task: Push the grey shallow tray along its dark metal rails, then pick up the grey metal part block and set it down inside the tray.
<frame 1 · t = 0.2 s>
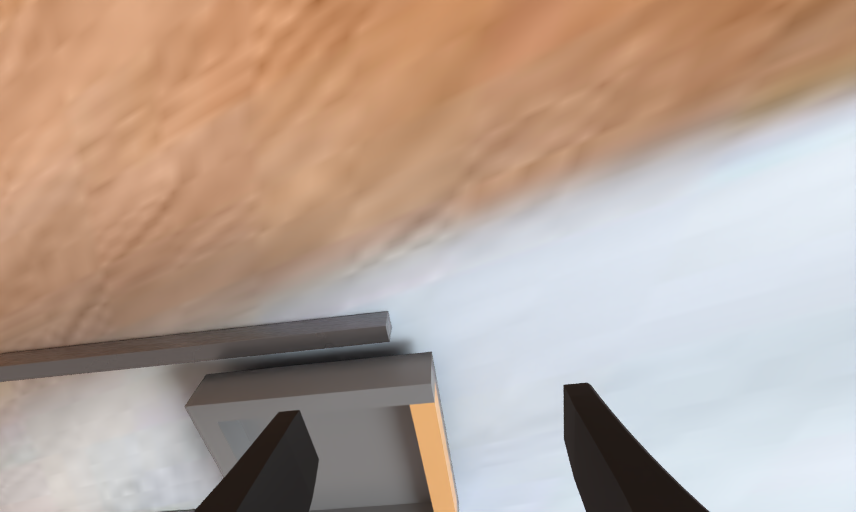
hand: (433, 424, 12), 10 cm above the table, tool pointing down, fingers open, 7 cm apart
track: (237, 435, 26), on the table
grey shallow tray: (341, 450, 24), point 2 cm above the table, slide at 0.0 cm
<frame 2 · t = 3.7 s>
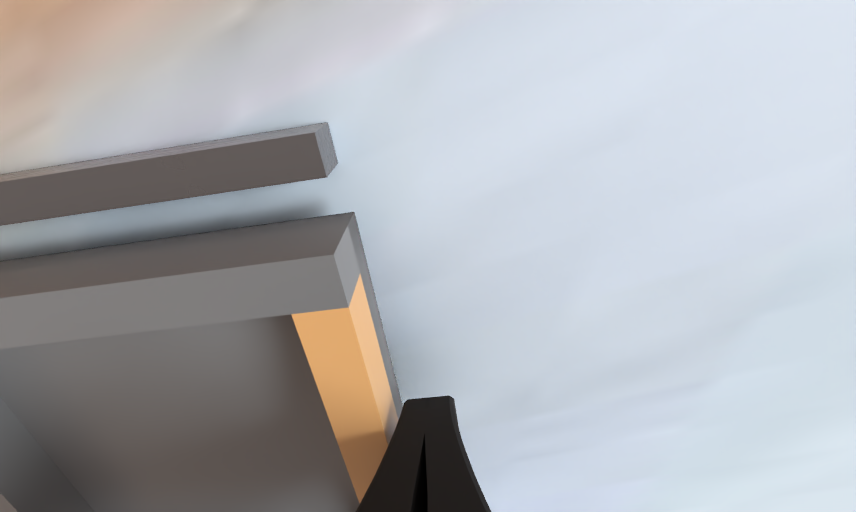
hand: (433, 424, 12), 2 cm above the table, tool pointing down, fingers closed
track: (78, 405, 15), on the table
grey shallow tray: (201, 432, 13), point 2 cm above the table, slide at 1.6 cm, touching gripper
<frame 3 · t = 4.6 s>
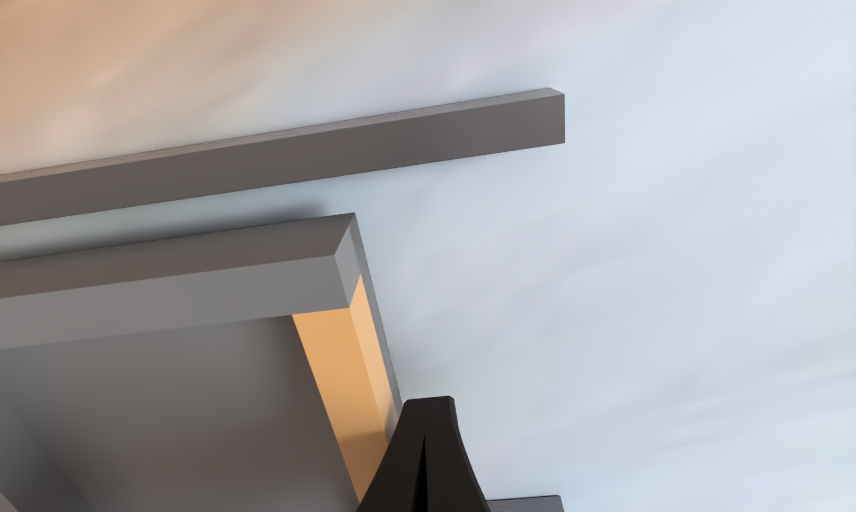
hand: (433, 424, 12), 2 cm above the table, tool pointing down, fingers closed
track: (222, 390, 14), on the table
grey shallow tray: (202, 432, 13), point 2 cm above the table, slide at 6.8 cm, touching gripper
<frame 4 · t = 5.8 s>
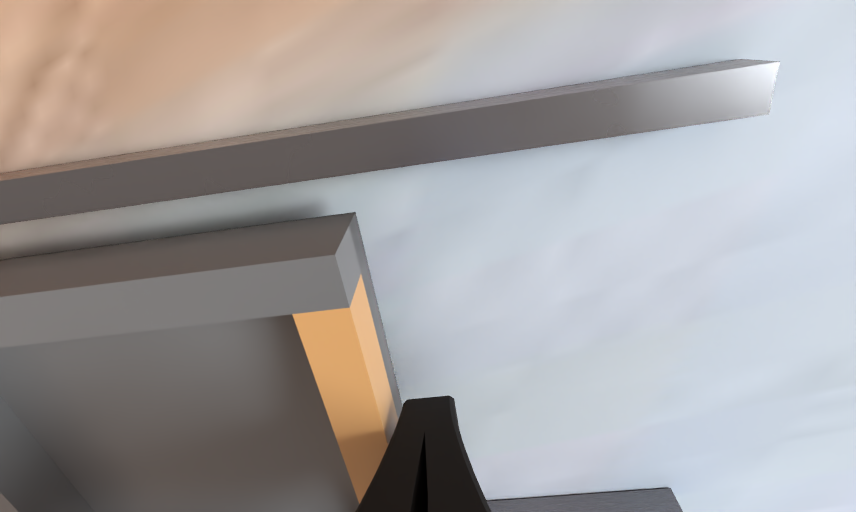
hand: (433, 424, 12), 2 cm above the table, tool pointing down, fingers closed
track: (342, 377, 14), on the table
grey shallow tray: (201, 431, 13), point 2 cm above the table, slide at 11.0 cm, touching gripper
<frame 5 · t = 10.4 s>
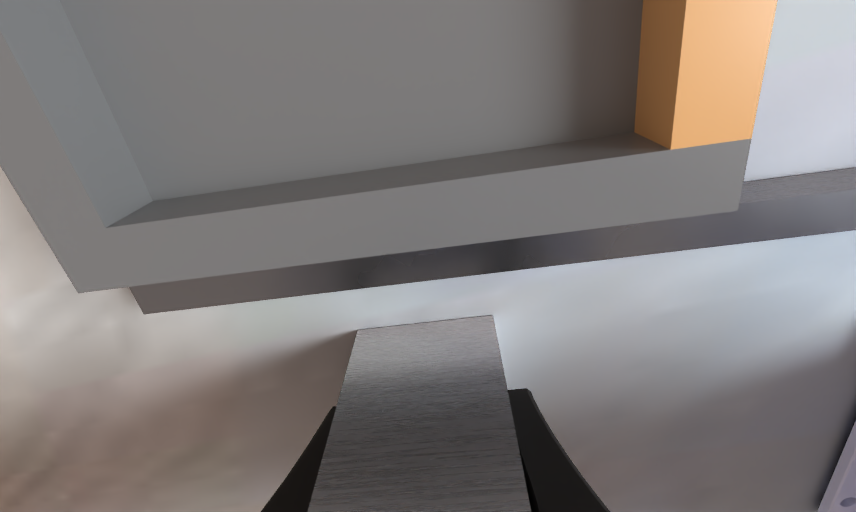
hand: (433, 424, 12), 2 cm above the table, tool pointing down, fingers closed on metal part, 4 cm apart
metal part: (434, 374, 13), on the table, touching gripper
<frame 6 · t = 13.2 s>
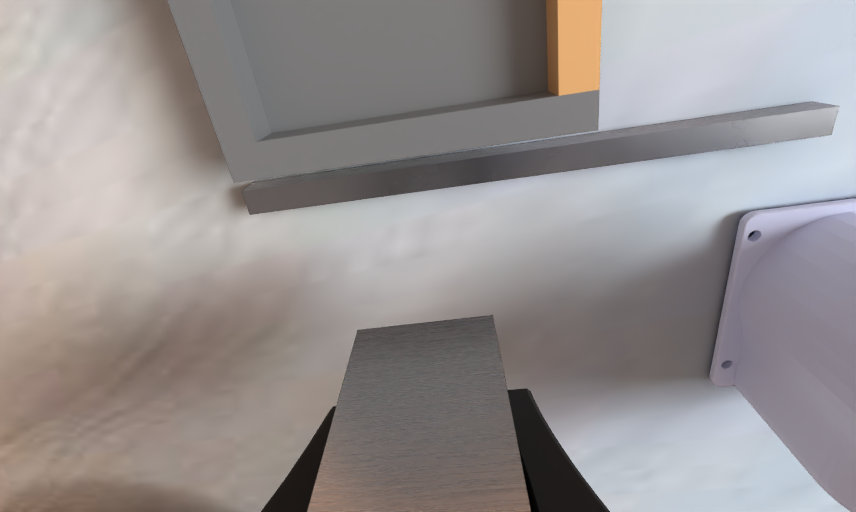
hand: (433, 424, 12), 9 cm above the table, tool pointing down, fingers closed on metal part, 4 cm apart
metal part: (433, 374, 13), point 7 cm above the table, touching gripper
when the fingers open (5 cm above the table, at t = 16.1 s): metal part stays where it is, resting on grey shallow tray.
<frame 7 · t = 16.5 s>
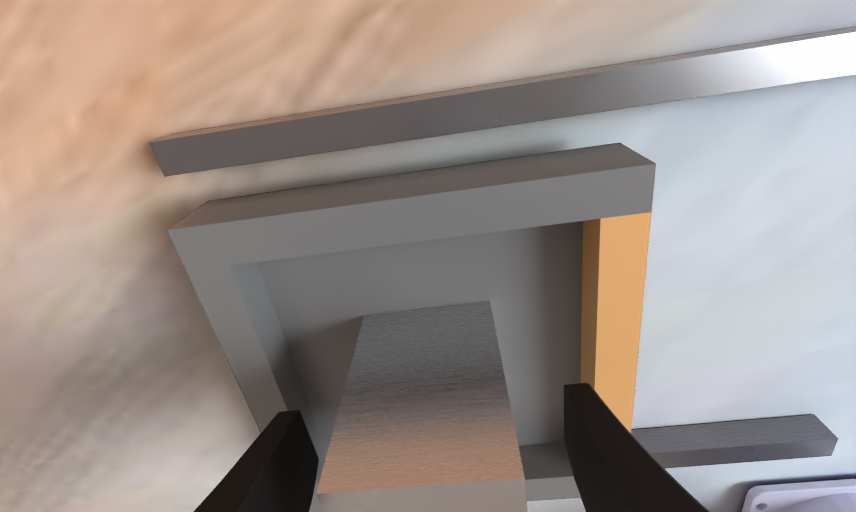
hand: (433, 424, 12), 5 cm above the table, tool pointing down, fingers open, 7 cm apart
track: (542, 306, 16), on the table
grey shallow tray: (434, 348, 14), point 2 cm above the table, slide at 11.0 cm, touching metal part
metal part: (435, 357, 14), point 2 cm above the table, touching grey shallow tray
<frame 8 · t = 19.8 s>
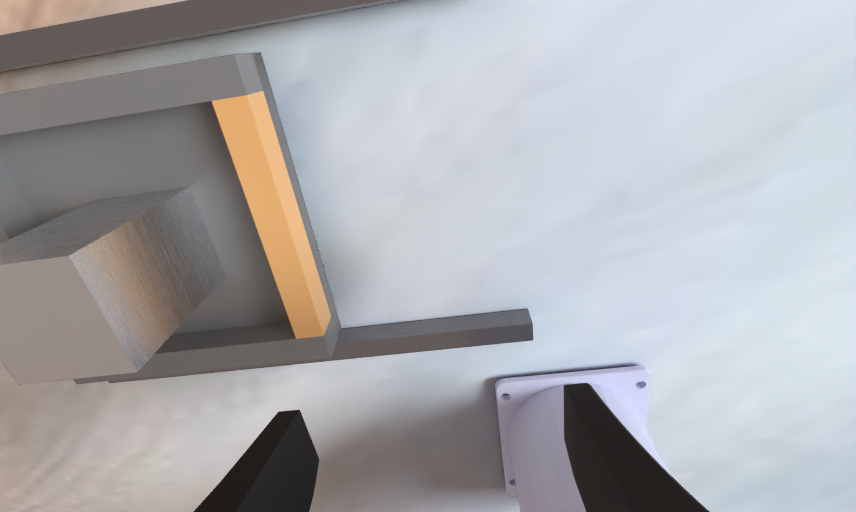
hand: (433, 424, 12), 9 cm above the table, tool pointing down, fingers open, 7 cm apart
track: (271, 206, 19), on the table
grey shallow tray: (165, 233, 18), point 2 cm above the table, slide at 11.0 cm, touching metal part
metal part: (162, 239, 18), point 2 cm above the table, touching grey shallow tray
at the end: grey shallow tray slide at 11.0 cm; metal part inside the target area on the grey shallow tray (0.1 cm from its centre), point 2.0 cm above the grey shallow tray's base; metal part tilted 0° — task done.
